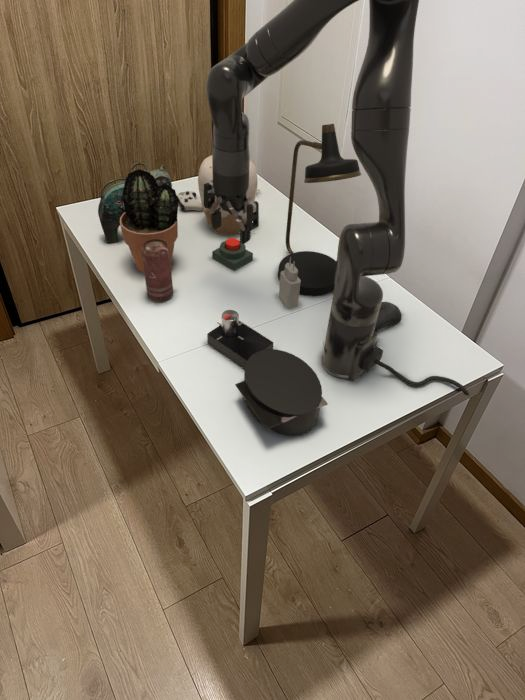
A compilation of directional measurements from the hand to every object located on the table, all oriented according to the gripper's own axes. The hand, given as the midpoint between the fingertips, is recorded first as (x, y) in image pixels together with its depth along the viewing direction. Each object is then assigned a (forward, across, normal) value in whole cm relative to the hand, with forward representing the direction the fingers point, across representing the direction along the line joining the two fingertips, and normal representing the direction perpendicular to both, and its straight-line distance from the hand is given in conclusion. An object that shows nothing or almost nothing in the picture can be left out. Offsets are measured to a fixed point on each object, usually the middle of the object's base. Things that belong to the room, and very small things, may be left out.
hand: (230, 234), depth 120 cm
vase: (+16, +21, -21) cm, 33 cm away
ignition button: (+12, +8, -10) cm, 18 cm away
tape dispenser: (+15, -32, +20) cm, 40 cm away
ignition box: (+16, +8, -10) cm, 20 cm away
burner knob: (+12, -13, +14) cm, 22 cm away
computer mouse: (+15, -33, -14) cm, 39 cm away
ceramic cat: (+16, +34, 0) cm, 38 cm away
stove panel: (+15, -16, +14) cm, 26 cm away
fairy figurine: (+17, +31, -37) cm, 51 cm away
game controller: (+16, +37, -21) cm, 45 cm away
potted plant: (+16, +21, +6) cm, 27 cm away
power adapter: (+15, -13, -6) cm, 21 cm away
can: (+16, +10, +13) cm, 23 cm away
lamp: (+16, -9, -18) cm, 26 cm away
